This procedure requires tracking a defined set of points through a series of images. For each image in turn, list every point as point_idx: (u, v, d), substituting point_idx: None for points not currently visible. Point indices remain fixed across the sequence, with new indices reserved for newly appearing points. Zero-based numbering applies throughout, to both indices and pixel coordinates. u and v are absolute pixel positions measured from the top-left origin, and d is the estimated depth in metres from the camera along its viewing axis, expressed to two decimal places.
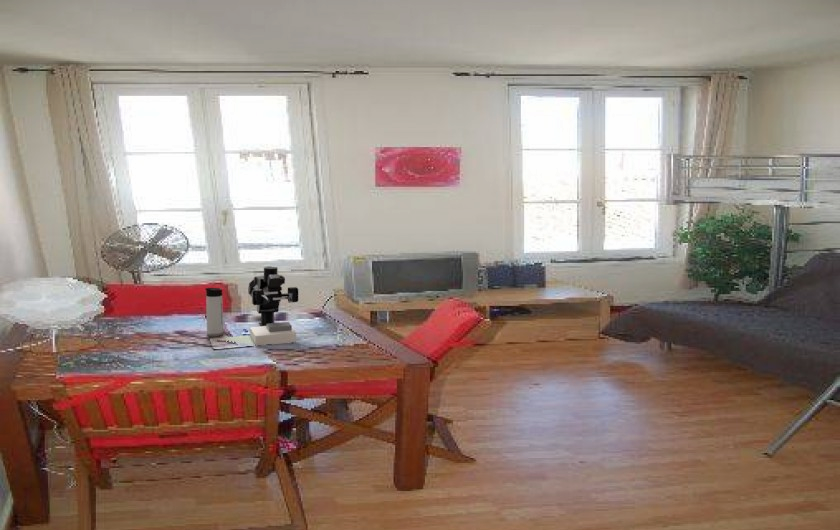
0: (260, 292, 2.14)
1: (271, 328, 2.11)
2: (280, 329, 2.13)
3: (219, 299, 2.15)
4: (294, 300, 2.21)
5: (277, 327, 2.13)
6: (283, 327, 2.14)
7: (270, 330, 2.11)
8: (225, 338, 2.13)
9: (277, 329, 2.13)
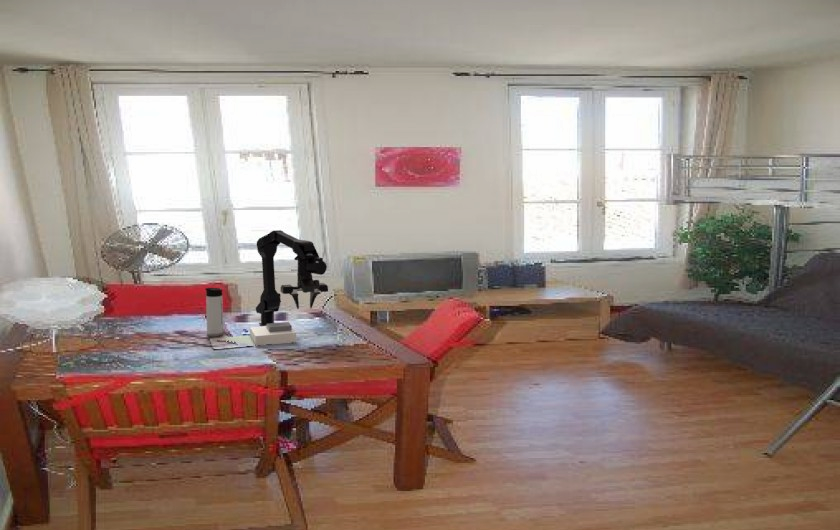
0: (294, 295, 2.14)
1: (271, 328, 2.11)
2: (280, 329, 2.13)
3: (219, 299, 2.15)
4: None
5: (277, 327, 2.13)
6: (283, 327, 2.14)
7: (270, 330, 2.11)
8: (225, 338, 2.13)
9: (277, 329, 2.13)
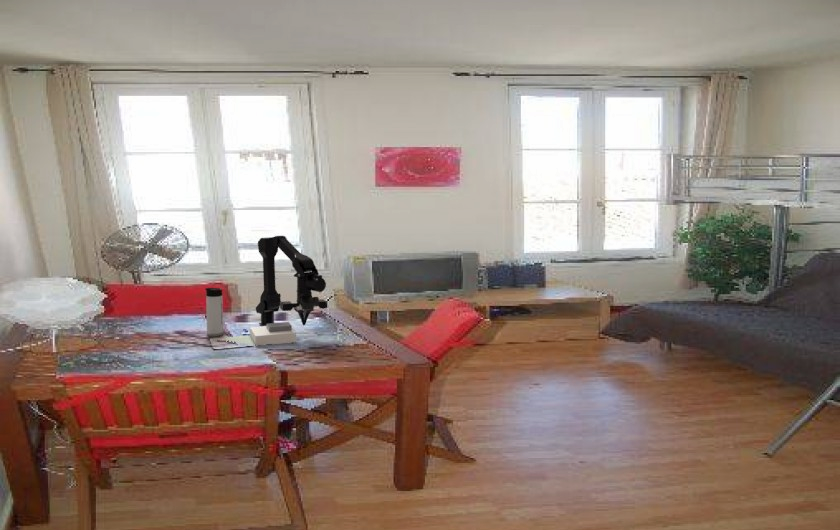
0: (300, 312, 2.16)
1: (271, 328, 2.11)
2: (280, 329, 2.13)
3: (219, 299, 2.15)
4: None
5: (277, 327, 2.13)
6: (283, 327, 2.14)
7: (270, 330, 2.11)
8: (225, 338, 2.13)
9: (277, 329, 2.13)
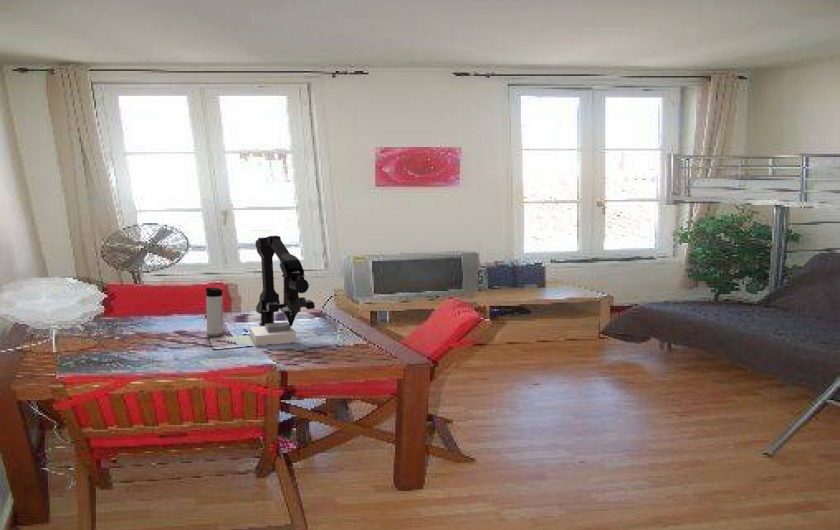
0: (287, 313, 2.14)
1: (270, 328, 2.11)
2: (279, 329, 2.13)
3: (219, 299, 2.15)
4: None
5: (276, 327, 2.12)
6: (282, 327, 2.13)
7: (269, 330, 2.11)
8: (225, 338, 2.13)
9: (276, 329, 2.12)
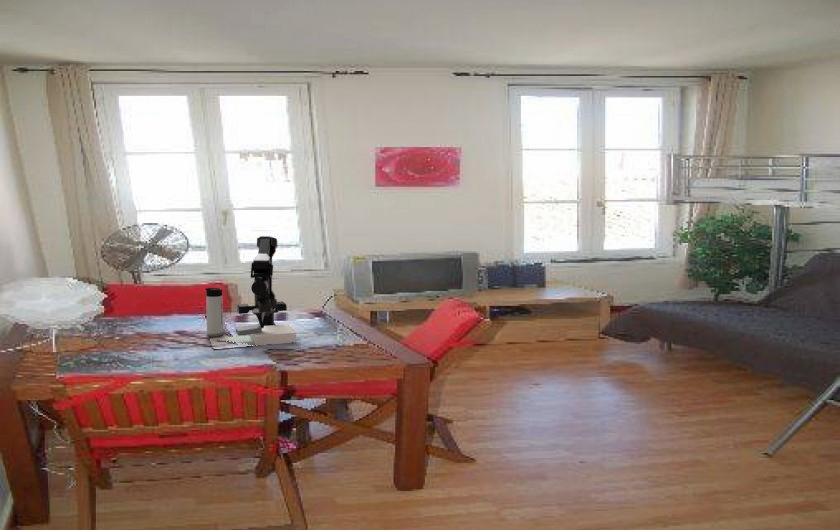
0: (257, 314, 2.09)
1: (240, 331, 2.06)
2: (250, 332, 2.08)
3: (219, 299, 2.15)
4: None
5: (246, 330, 2.07)
6: (253, 330, 2.08)
7: (239, 334, 2.06)
8: (225, 338, 2.13)
9: (247, 332, 2.07)
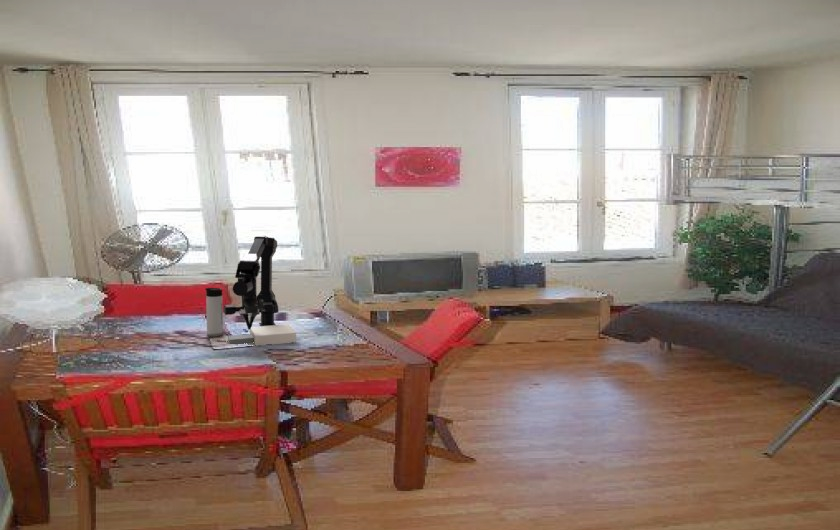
0: (244, 315, 2.07)
1: (231, 340, 2.05)
2: (241, 341, 2.06)
3: (219, 299, 2.15)
4: None
5: (238, 339, 2.06)
6: (244, 339, 2.07)
7: (230, 343, 2.05)
8: (225, 338, 2.13)
9: (238, 341, 2.06)
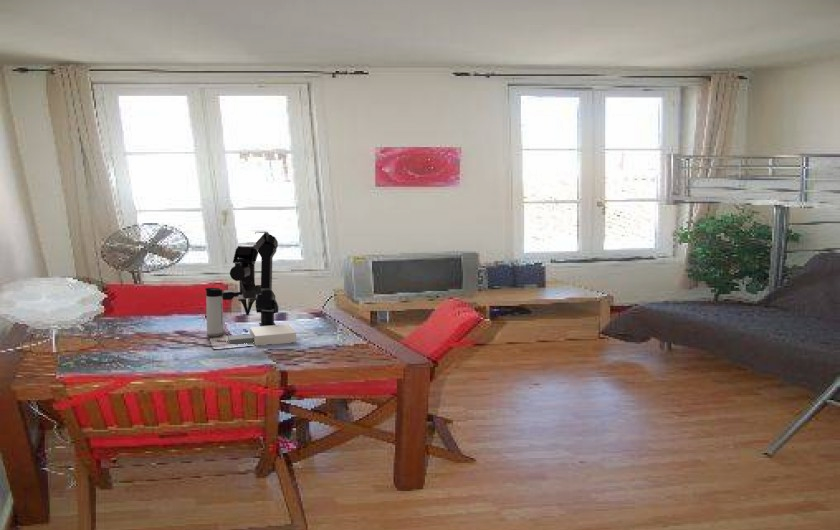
0: (242, 301, 2.06)
1: (231, 340, 2.05)
2: (241, 341, 2.06)
3: (219, 299, 2.15)
4: None
5: (238, 339, 2.06)
6: (244, 339, 2.07)
7: (230, 343, 2.05)
8: (225, 338, 2.13)
9: (238, 341, 2.06)
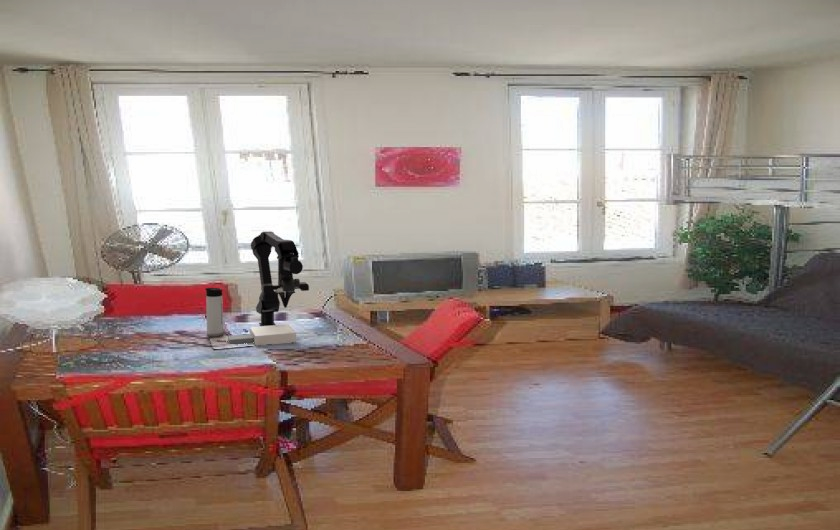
0: (281, 294, 2.16)
1: (231, 340, 2.05)
2: (241, 341, 2.06)
3: (219, 299, 2.15)
4: None
5: (238, 339, 2.06)
6: (244, 339, 2.07)
7: (230, 343, 2.05)
8: (225, 338, 2.13)
9: (238, 341, 2.06)
